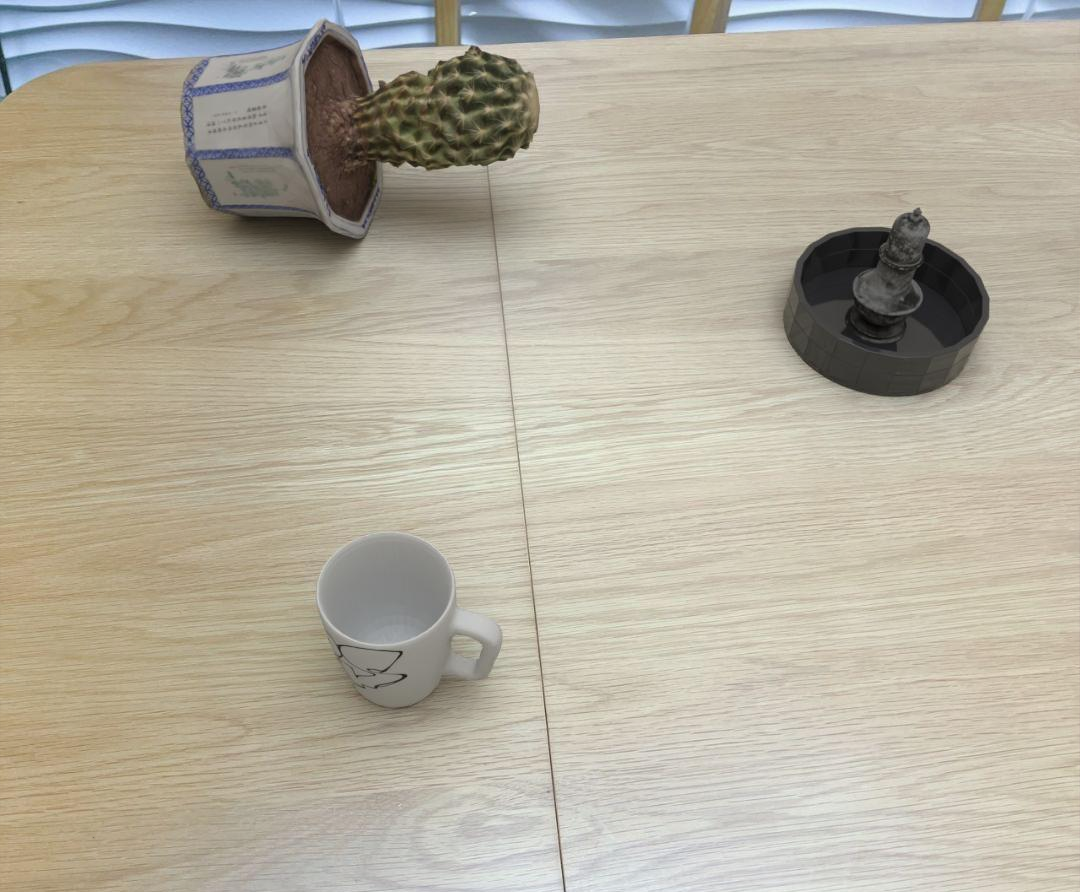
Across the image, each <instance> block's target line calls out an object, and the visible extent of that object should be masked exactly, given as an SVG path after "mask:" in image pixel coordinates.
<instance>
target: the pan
mask: <svg viewBox="0 0 1080 892" xmlns="http://www.w3.org/2000/svg"><path fill="white" fill-rule="evenodd" d="M891 229H892V227H886V226H853V227H849V228H846V229H841V230H837V231H833V232H829V233H827V234H825V235H823V236H821V237H820V238H818V239H816V240H815V241H813V242H811V243H809V245H808V246H807V247H806V248H805V250H803V252H802V253H801V255H800V256H799V257H798V258H797V260H796V262H795V266H794V269H793V272H792V277H791V280H790V284H789V287H788V290H787V294H786V299H785V303H784V308H783V313H782V315H783V316H782V320H783V328H784V331H785V334H786V337H787V339H788V341H789V343H790V345H791V347H792V348H793V350H794V351H795V352H796V354H797V355H798V356H799V357H800V358H801V359H802V360H803V361H804V363H806V364H807V365H808V366H810V367H811V368H812V369H813V370H814V371H815V372H817V373H819V374H820V375H821V376H823V377H824V378H827V379H828V380H831V381H832V382H834V383H836V384H839V385H840V386H842V387H845V388H849V389H851V390H854V391H857V392H862V393H865V394H869V395H875V396H882V397H910V396H911V397H912V396H916V395H917V396H918V395H922V394H923V395H924V394H926V393H930V392H933V391H936V390H937V389H941V388H943V387H944V386H946V385H948V384H949V383H952V381H953V380H955V378H956V377H959V375H960V374H961V373H962V371H963V370H964V369H965V367H966V365H967V364H968V362H969V360H970V358H971V357H972V354H973V353H974V351H975V348H976V346H977V344H978V343H979V340H980V338H981V336H982V334H983V333H984V330H985V328H986V326H987V324H988V322H989V319H990V305H991V304H990V302H991V301H990V295H989V293H988V291H987V288H986V286H985V284H984V282H983V280H982V278H981V276H980V275H979V273H977V272H976V270H975V269H974V268H973V267H972V265H970V264H969V263H968V262H967V260H966V259H964V257H962V256H961V255H959V254H957V253H956V252H954V251H953V250H951V249H950V248H948V247H947V246H945V245H943V244H942V243H941V242H938V241H935V240H933V239H931V238H929V237H927V240H926V242H925V245H924V248H923V250H922V253H923V256H924V261H923V263H922V265H921V266H919V267H918V268H916V270H915V273H914V275H913V278H912V279H913V280H914V281H915V282H916V283H917V284H918V285H919V287H920V288H921V291H922V294H923V300H922V303H921V305H920V307H919V308H918V309H917V310H915V311H914V312H913V313H912V314H911V315H910V316H909V317H908V318H907V319H905V320H906V323H907V330H906V332H905V334H904V336H903V337H902V338H901V339H900V340H898V341H896V342H893V343H889V344H876V343H870V342H867V341H865V340H862V339H861V338H859V337H857V336H856V335H854V334H853V333H852V332H851V331H850V330H849V328H848V327H847V324H846V321H845V317H846V313H847V311H848V309H849V308H850V307H851V306H852V305H854V298H853V296H854V293H853V290H852V286H853V281H854V280H855V278H856V276H858V275H859V274H860V273H861V272H864V271H866V270H868V269H874V268H877V265H878V262H879V260H880V257H879V249H880V247H881V246H882V245H883V244H884V243H886V242H887V240H888V237H889V235H890V232H891Z"/></svg>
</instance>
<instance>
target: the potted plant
mask: <svg viewBox="0 0 1080 892" xmlns="http://www.w3.org/2000/svg"><path fill="white" fill-rule="evenodd" d="M540 104H541V103H540V97H539V91H538V86H537V83H536V79H535V74H534V72H532V71H528V72H525V70H524V69H523V67H522V65H521V64H520V63H519V62H518V61H517V59H516V58H511V57H506V56H503V55H501V54H500V55H499V54H495V53H490V52H487V51H483V50H482V49H481V48H480V47H479V46H476V45H473V44H471V45H470V46H469V48H468V50H466V51H464V55H456V56H454V57H451V58H450V59H448V60H439V61H438V62H437V63H436V65H435V67H433V68H430V69H429V70H427V75H425V74H423V73H421V72H418V71H416V70H411V71H408V72H405V73H401V74H399V75H398V76H397V77H396V78H394V79H393V80H391V81H390V82H388V83H387V82H386V81H385V80H383V79H380V80H378V88H377V89H376V90H375V91H374V87H373V83H372V81H371V77H370V74H369V71H368V67H367V64H366V62H365V58H364V55H363V52H362V50H361V46H360V44H359V41H358V40H357V39H356V38H355V37H354V35H353V34H352V33H351V32H349V31H348V30H347V28H345V27H343V26H342V25H340V24H338V23H336V22H333V21H330V20H329V19H328V18H326V17H325V18H319V19H318V20H317V21H316V22H315V23H314V25H313V26H312V27H311V28H310V29H309V31H308V32H307V33H306V34H305V36H304V37H303V38H301V39H299V40H297V41H294V42H292V43H288V44H285V45H281V46H278V47H273V48H268V49H260V50H255V51H251V52H242V53H241V52H240V53H233V54H221V55H215V56H209V57H205V58H203V59H201V60H199V61H198V62H197V63H195V64H194V65H193V66H192V67H191V69H190V71H189V73H188V74H187V76H186V77H185V79H184V81H183V85H182V88H181V92H180V106H179V107H180V108H179V111H180V113H179V114H180V124H181V129H182V133H183V141H182V143H183V148H184V153H185V155H184V163H185V165H186V167H187V169H188V171H189V173H190V176H192V178H193V180H194V181H195V183H196V186H197V188H198V190H199V191H198V192H199V193H200V196H201V199H202V200H203V202H204V203H205V204H206V206H207V207H208V208H209V209H210V211H213V212H217V213H222V214H225V215H229V216H230V215H231V216H236V217H260V218H261V217H263V218H264V217H265V218H272V217H274V218H276V217H277V218H278V217H288V218H290V217H294V218H312V219H317V220H319V221H321V222H322V223H323V224H324V225H325V226H326V227H327V228H329V229H330V230H331V231H332V232H334V233H337V234H340V235H343V236H345V237H350V238H352V239H358V240H359V239H362V238H364V237H365V236H366V235H367V233H368V230H369V228H370V225H371V222H372V221H373V220H374V216H375V215H374V214H375V211H376V210H378V207H379V204H380V199H381V195H382V191H383V179H384V178H383V177H384V176H383V164H386V163H389V164H390V165H391V166H392V167H394V168H398V169H399V168H400V167H401V166H402V165H404V164H405V163H407V164H409V165H410V166H412V168H414V169H415V168H418V167H422V168H424V169H425V170H426V172H431V171H438V170H445V169H449V168H450V167H452V166H455V167H467V166H470V165H471V166H475V167H477V166H479V165H480V166H481V167H488V166H489V165H491V164H494V163H496V162H506V161H507V160H509V159H514V158H515V156H516V153H517V151H518V150H520V149H521V150H525V151H527V150H528V149H529V148H530V144H531V143H533V142H534V135H535V134H536V133H537V132H538V129H539V122H540V112H541V107H540Z"/></svg>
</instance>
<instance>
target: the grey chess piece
mask: <svg viewBox="0 0 1080 892" xmlns="http://www.w3.org/2000/svg"><path fill="white" fill-rule="evenodd" d="M922 213H923V212H922V209H921V207H917V208H915V209H912V212H904V213H901V214H900V215H898V216H897V217H896V218H895V220H894V221H893V224H892V227H891V228H892V229H891V232H890V235H889V237H888V240H887V242H886V243H884V244H883V245H882V246H881V247H880V249H879V257H880V260H879V262H878V265H877V268H874V269H868V270H866V271H864V272H861V273H860V274H859V275H858V276H856V278H855V280H854V281H853V286H852V290H853V293H854V296H853V298H854V305H852V306H851V307H850V308H849V309H848V311H847V313H846V317H845V321H846V324H847V327H848V328H849V330H850V331H851V332H852V333H853V334H854V335H856V336H857V337H859V338H861V339H862V340H865V341H867V342H870V343H876V344H889V343H893V342H896V341H898V340H900V339H901V338H902V337H903V336H904V334H905V332H906V330H907V323H906V320H905V319H907V318H908V317H909V316H910V315H911V314H912V313H913V312H914V311H915V310H917V309H918V308H919V307H920V305H921V303H922V300H923V294H922V291H921V288H920V287H919V285H918V284H917V283H916V282H915V281H914V280H913V279H912V278H913V275H914V273H915V270H916V268H918V267H919V266H921V265H922V263H923V261H924V256H923V253H922V250H923V248H924V245H925V242H926V240H927V238H929V235H930V232H931V224H930V222H929V219H927V217H925V216H924V215H922Z"/></svg>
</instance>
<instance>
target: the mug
mask: <svg viewBox="0 0 1080 892" xmlns="http://www.w3.org/2000/svg"><path fill="white" fill-rule="evenodd" d="M456 583H457V582H456V577H455V574H454V571H453V568H452V566H451V564H450V562H449V561H448V559H447V557H446V556H445V554H444V553H442V552H441V550H440V549H438V548H437V547H436V546H435V545H433V544H432V543H431V542H429V541H427V540H426V539H423V538H422V537H419V536H416V535H414V534H411V533H407V532H400V531H378V532H373V533H369V534H365V535H362V536H358V537H357V538H354V539H353V540H350V541H349V542H347V543H345V544H343V545H342V546H341V547H339V548H338V549H337V550H336V551H335V552H334V553H333V554H332V555H331V556H330V557H329V559H328V560H327V561H326V562H325V564H324V566H323V567H322V569H321V571H320V573H319V575H318V579H317V582H316V585H315V603H316V608H317V612H318V616H319V618H320V621H321V623H322V626H323V629H324V632H325V634H326V636H327V639H328V642H329V644H330V647H331V649H332V651H333V654H334V656H335V658H336V659H337V661H338V663H339V665H340V666H341V668H342V669H343V671H344V672H345V674H346V675H347V677H348V679H349V680H350V682H351V683H352V685H353V686H354V687H355V689H356V691H358V692H359V694H360V695H361V696H362V697H364V699H366V700H367V701H369V702H371V703H373V704H375V705H377V706H380V707H386V708H404V707H409V706H412V705H414V704H417V703H419V702H421V701H423V700H424V699H425V698H428V696H430V695H431V693H432V692H434V690H435V689H436V688H437V686H438V685H439V683H440V681H441V679H442V677H443V676H444V675H448V676H451V677H455V678H458V679H463V680H468V681H482V680H485V679H486V678H488V677H489V675H490V674H491V673H492V670H493V667H494V664H495V662H496V660H497V658H498V657H499V654H500V652H501V649H502V645H503V631H502V628H501V626H500V625H499V624H498V623H497V622H496V621H495V620H494V619H492V618H490V617H488V616H486V615H484V614H481V613H478V612H474V611H471V610H467V609H463V608H460V607H459V606H458V603H457V585H456ZM454 636H461V637H467V638H470V639H473V640H474V641H476V642H478V643H479V644H480V645H481V647H482V648H481V650H480V653H479V656H478V658H469V657H465V656H462V655H461V654H458V653H456V652H455V651H454V649H453V647H452V642H453V638H454Z"/></svg>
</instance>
